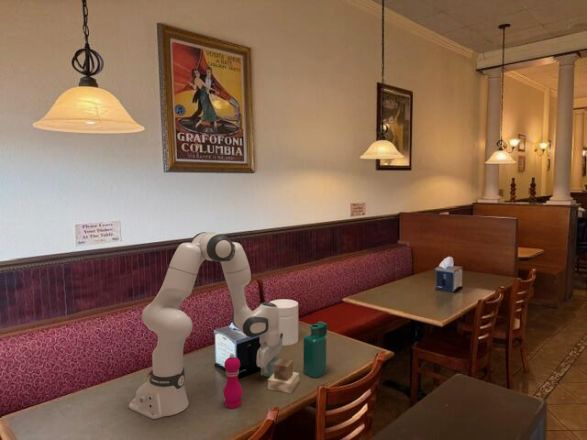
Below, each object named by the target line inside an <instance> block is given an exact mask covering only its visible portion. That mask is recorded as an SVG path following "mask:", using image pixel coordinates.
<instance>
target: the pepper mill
mask: <svg viewBox="0 0 587 440" xmlns="http://www.w3.org/2000/svg"><path fill="white" fill-rule="evenodd" d="M223 366H224V368H225V375H226V377H227V378H226V379H227V380H226V384H225V386H224V388H223V392H222V395H223V398H224V405H225V407H226V408H229V409H235V408H238V407H240V406H241V404H242V398H241V397H242V395H243V388H242V386H241V383H240V382H239V374H240V367H241V362H240V359H239V358H238V357H237V356H235V354H234V353H230V355H229V357H228V358H227V359H225V361H224V365H223Z"/></svg>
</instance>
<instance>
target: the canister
mask: <svg viewBox="0 0 587 440" xmlns="http://www.w3.org/2000/svg"><path fill="white" fill-rule="evenodd" d="M269 302H270V303H273V304H275V305H276V306H277V307H278V310H279V332H283V337H282V347H283V346H284V347H285V346H292V345H294V344H297V342H298V341H299V302H298V301H296V300H294V299H289V298H288V299H287V298H286V299H285V298H281V299H274V300H271V301H269Z"/></svg>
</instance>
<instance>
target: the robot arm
mask: <svg viewBox="0 0 587 440" xmlns="http://www.w3.org/2000/svg"><path fill="white" fill-rule="evenodd" d="M205 260H206V261H209V262H210V261H211V262H216V263H218V262H219V263H220V265H221V267H222V273H223V275H224V279H225V282H226V285H227V287H228V290H229V291H228V292H229V295H230V300H231V306H232V313H231V323H232V325H233V326H234V328H236V329H238V330H239V331H240V332H241V333H242V334H244V335H245V336H246V337H249V338H255V337H257V336H259V344H260V347H258V349H257V353H256V366H257V367H258V368H260V369H261V368H264V373H268V372H269V368H268V363H269V362H270V361H271V360H272V359H273V358H278V357H277V355H279V353H280V352H282V349H283V346H282V337H283V332H279V310H278V307H277V306H276V305H275V304H273V303H270V302H271V301H269V302H268V301H266V302H265V301H263V302H261V303H260V305H259V306H258V307H256V308H255V309H254V310H252V309H251V308H250V307H249V306H248V304H247V300H246V294H245V287H246V286H248V285H249V283H250V282H251V280H252V276H251V275H252V273H251V268H250V263H249V260H248V257H247V255H246V252H245V250H244V248H243V246H242V244H240V243H239V242H235V241H232V239H230V238H229V237H228V236H226V235H224V234H219V233H216V232H211V231H210V232H207V231H205V232H204V231H202V232H199V233H197V234H196V235H195V236H193V237H192V238H191V240H189V242H183V243H180V244H179V246H178V247H177V248H176V250H175V252H174V254H173V256H172V258H171V260H170V263H169V265H168V269H167V271H166V274H165V277H164V279H163V282H162V285H161V287H160V289H159V291H158V293H157V294H156V296H155V297H154V299H153V300H152V301H151V302H150V303H149V304H147V305H146V306H145V307H144V309H143V311H142V313H141V320H142V322H143V323H144V325H145V327H146V328H147V329H148V330H150V331H151V332H154V333H155V334H156V335H157V343H156V347H155V348H154V349H153V350H152V355H151V357H152V359H151V360H152V369H151V371H150V372H148V373H146V375H147V376H146V377H147V378H148V377H149V379H147V381H145V382H144V383H143V384H141V385H140V386H139V388H138V389H136V392H135V397H134V398H133V399H132V400H131V401H130V402H129V404H128V408H129V410H132V411H134V412H136V413H138V414H141V415H143V416H145V417H147V418H149V419H152V420H157V419H161V418H164V417H168V416H169V417H171V416H173V415H177V414H180V413H181V412H183V411H185V410H186V409H187V408H188V406H189V403H190V401H189V399H188V395H187V391H186V386H185V378H186V377H185V376H186V375H185V367H184V346H185V342H186V339H188V337H189V336H190V335H191V333H192V331H193V326H194V324H193V321H192V319H191V317H190V316H188V314H187V313H186V312H184V311H183V310H180V309H179V308H180V306H181V305H182V303H183V302H184V300H186V299H187V298H188V297H189V296H190V295H191V294H192V292H193V290H194V286H195V282H196V279H197V275H198V273H199V270H200V267H201V265H202V263H203V262H204V261H205Z"/></svg>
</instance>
